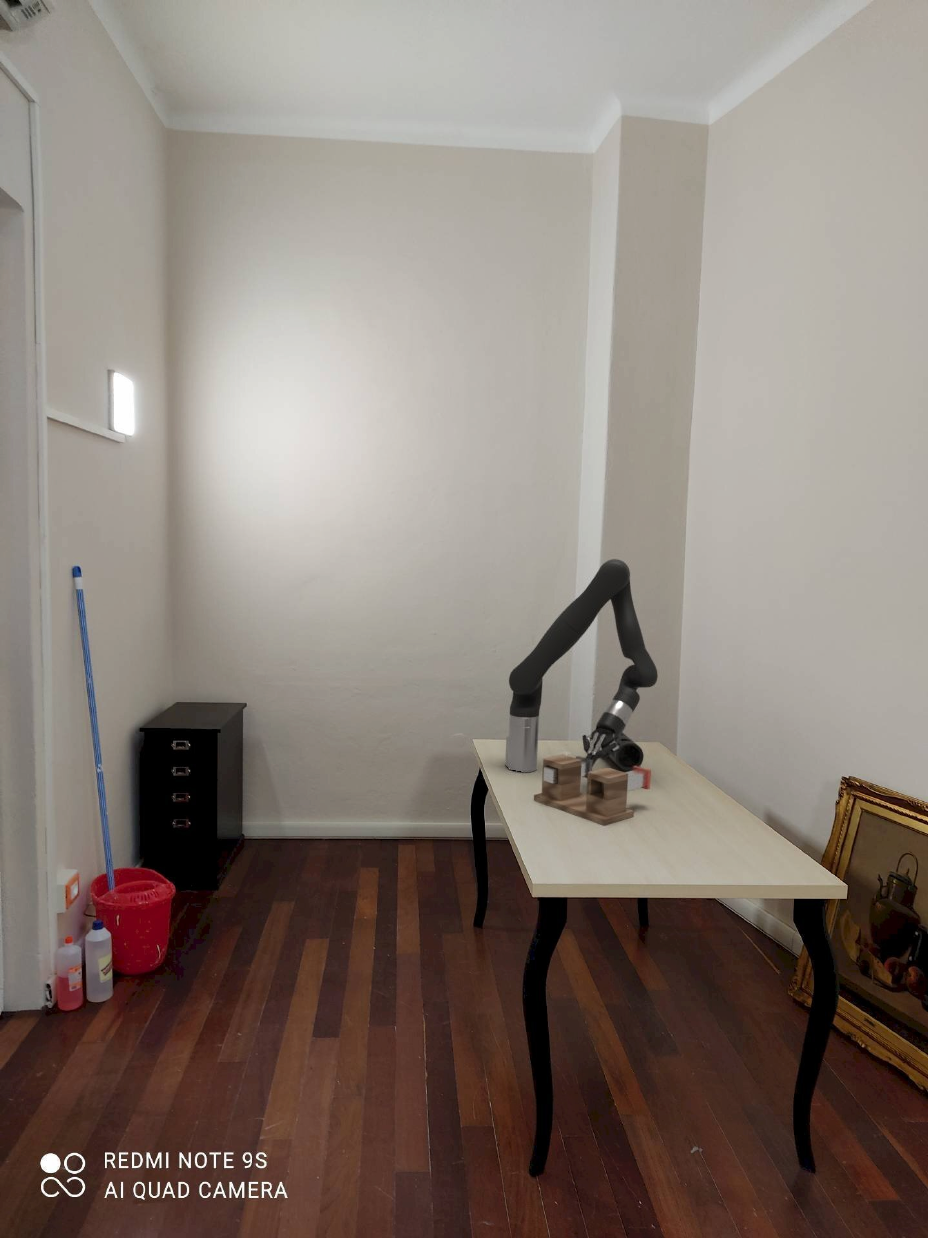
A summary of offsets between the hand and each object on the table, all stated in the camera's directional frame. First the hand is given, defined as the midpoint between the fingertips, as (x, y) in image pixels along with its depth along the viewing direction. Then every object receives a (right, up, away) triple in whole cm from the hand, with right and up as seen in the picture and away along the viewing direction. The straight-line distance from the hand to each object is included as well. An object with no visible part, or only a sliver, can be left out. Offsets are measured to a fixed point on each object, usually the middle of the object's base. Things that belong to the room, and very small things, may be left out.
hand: (586, 767), depth 241 cm
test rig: (-3, -9, -12) cm, 15 cm away
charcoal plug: (-6, -3, -5) cm, 8 cm away
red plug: (+8, -4, -14) cm, 16 cm away
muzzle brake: (+15, -5, +37) cm, 40 cm away
